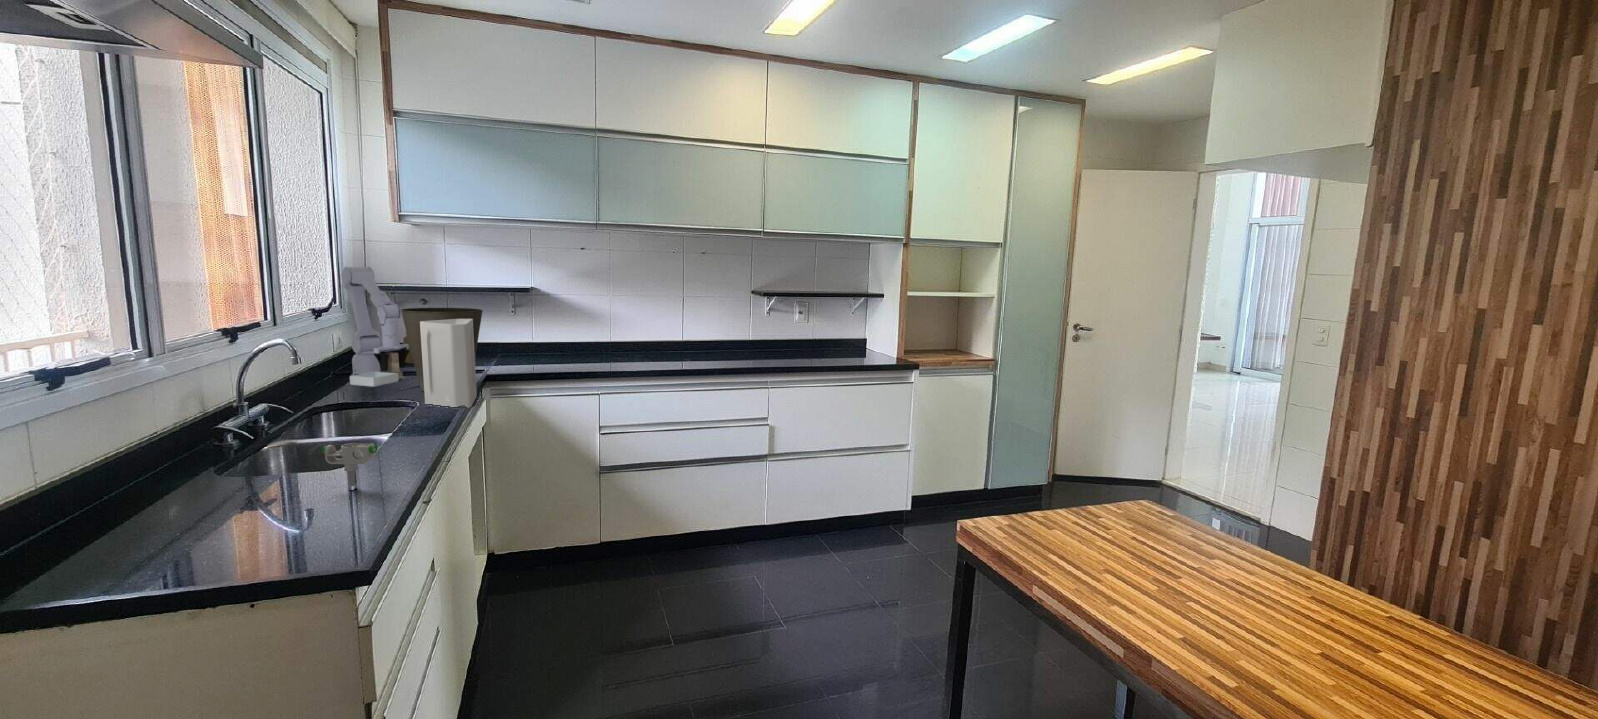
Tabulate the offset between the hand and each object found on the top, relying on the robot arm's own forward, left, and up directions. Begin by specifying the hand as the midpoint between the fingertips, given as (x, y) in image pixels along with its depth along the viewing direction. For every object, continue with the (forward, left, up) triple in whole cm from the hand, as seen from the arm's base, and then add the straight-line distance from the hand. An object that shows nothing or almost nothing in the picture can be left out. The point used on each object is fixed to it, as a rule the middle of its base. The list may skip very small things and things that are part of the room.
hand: (393, 369), depth 259 cm
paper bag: (+49, -25, -5) cm, 55 cm away
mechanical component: (+92, -100, -5) cm, 136 cm away
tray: (+2, -10, -4) cm, 12 cm away
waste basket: (+31, -6, -5) cm, 32 cm away
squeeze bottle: (-25, +35, -5) cm, 43 cm away
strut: (0, 0, -4) cm, 4 cm away
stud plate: (0, 0, -4) cm, 4 cm away
